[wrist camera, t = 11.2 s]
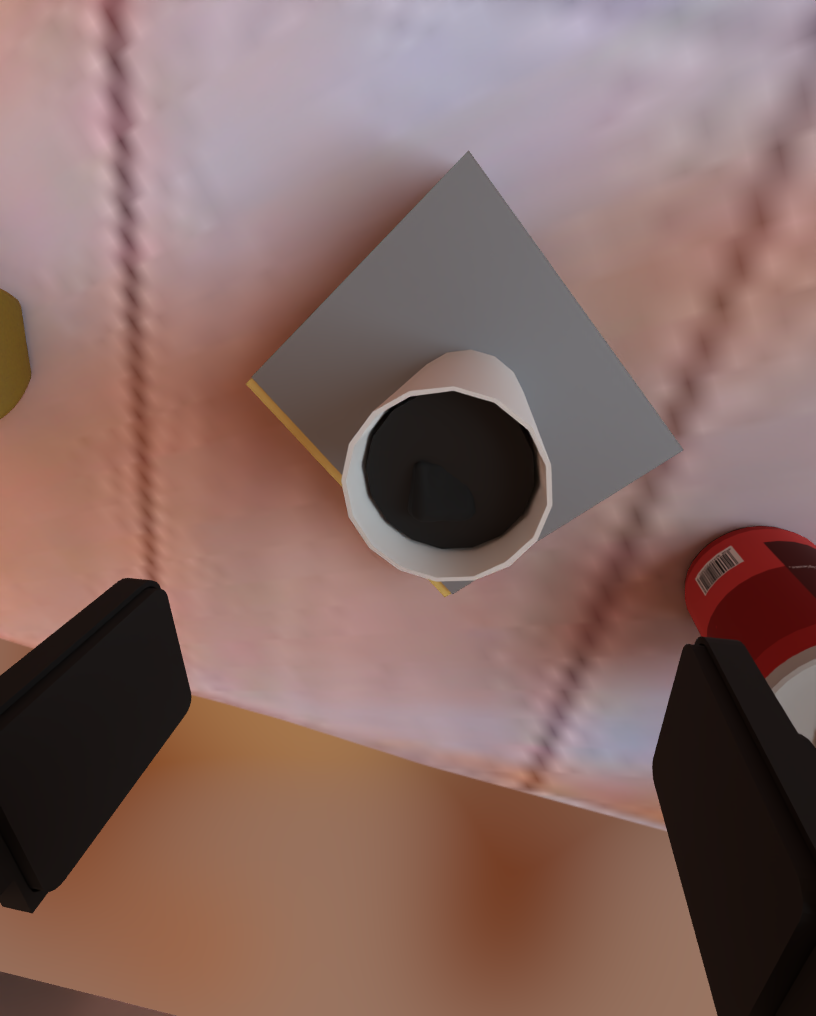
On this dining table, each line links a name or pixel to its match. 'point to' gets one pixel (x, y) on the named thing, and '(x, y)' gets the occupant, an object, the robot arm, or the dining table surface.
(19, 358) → the flower pot
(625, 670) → the dining table surface
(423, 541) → the white cup
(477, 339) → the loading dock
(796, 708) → the canned food
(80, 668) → the robot arm
